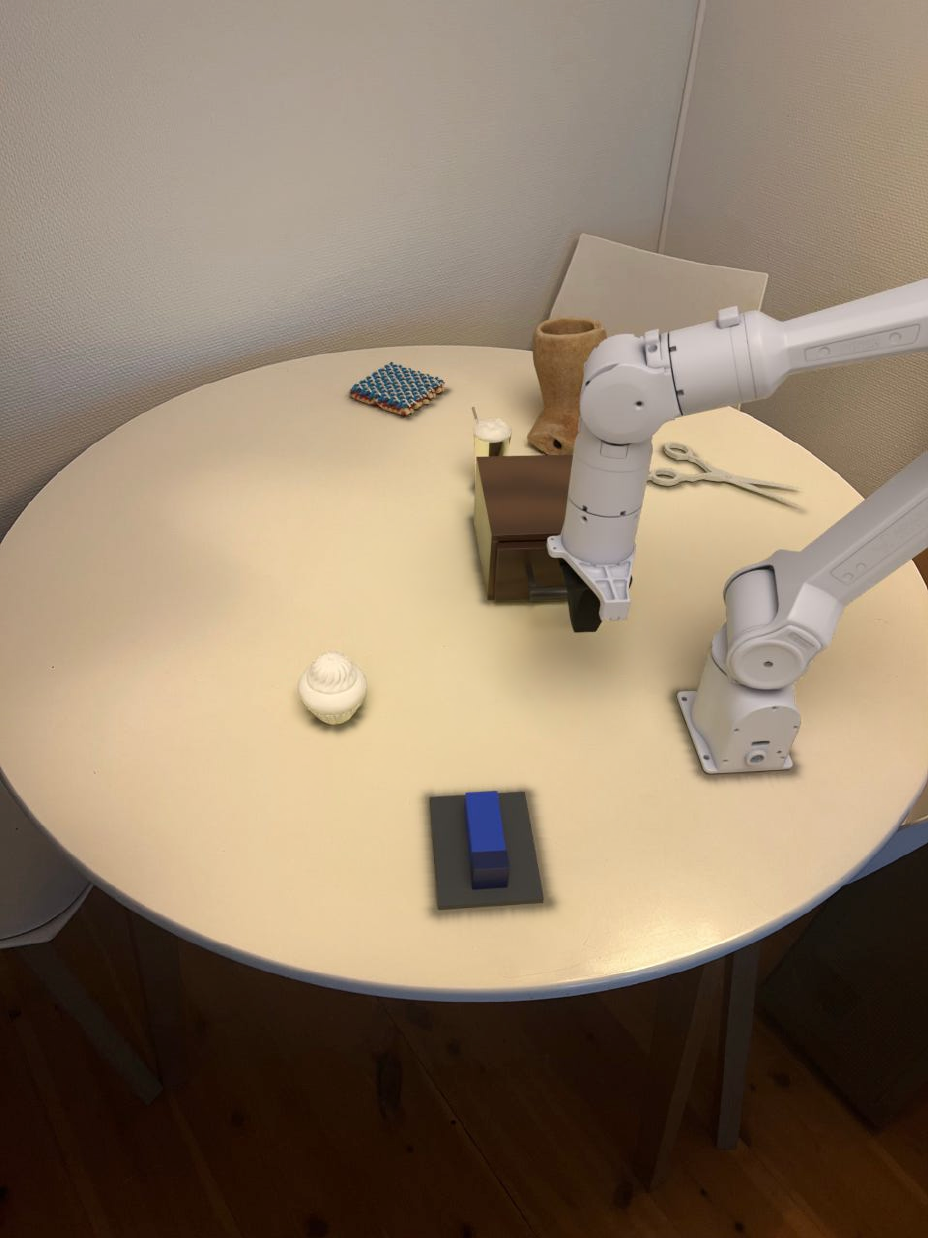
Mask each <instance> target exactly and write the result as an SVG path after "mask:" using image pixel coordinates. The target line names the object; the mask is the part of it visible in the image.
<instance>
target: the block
mask: <svg viewBox="0 0 928 1238" xmlns="http://www.w3.org/2000/svg"><path fill="white" fill-rule="evenodd" d="M498 793H499V792H498V790H488V791H471V792H470V791H469V792H465V793H464V795H465V808H464V814H465V823H466V831H467V840H468V849H469V858H470V867H471V870H470V873H471V882H472V889H473V890H476V889H491V888H506V887H507V886H508V877H509V869H510V867H509V860H508V854H507V850H506V846H505V839H504V833H503V826H502V819H501V813H500V806H499V799H498Z"/></svg>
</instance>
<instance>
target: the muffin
mask: <svg viewBox="0 0 928 1238" xmlns="http://www.w3.org/2000/svg"><path fill="white" fill-rule="evenodd" d="M311 663H312V664H310V665H309V666H308V667H306V668H305V669H304V670H303V672H302V673H301V674H300V676H299V678H298V681H297V692H298V695H299V698H300V700H301V701H302V703H303V704H304V705H305V706H306V709H307V710H308V711H310V712H311V713H312V714H313V715H314V716H315V717H316V718H318V719H319V720H320V721H321V722H323V723H324V724H327V725H331V726H332V725H333V726H335V725H341V724H344V723H346V722H348V721H349V720H350V719H351V718H352V717H353V716H354V715H355V713H356V711H357V710H358V709H359V708H360V706H361V705H362V703H363V701H364V699H365V697H366V694H367V691H368V688H369V687H368V686H369V684H368V679H367V675H366V674H365V672H364V671H363V669H362V668H361V667H360V666H359V665H357V664H356V663H354V662H352V661H351V659H350V658H349V657H348V656H347V655H345V654H344V653H342V652H339V651H337V650H336V651H331V650H329V651H328V652H322V653H321V655H317V656H316V658H315V659H313V660H312V662H311Z"/></svg>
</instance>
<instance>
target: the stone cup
mask: <svg viewBox="0 0 928 1238" xmlns="http://www.w3.org/2000/svg"><path fill="white" fill-rule="evenodd" d="M607 338H608V335H607V331H606V328H605V326H604V324H603V323H602V322H600V321H599V320H597V319H594V318H590V317H579V316H563V317H555V318H550V319H547V320H544V321H542V322H540V323H539V324H538V325H537V326H536V327H535V329H534V331H533V335H532V361H533V367H534V369H535V373H536V377H537V381H538V384H539V390H540V393H541V398H542V403H543V408H542V409H543V410H542V411H541V412H540V413H539V415H538V416H537V417H536V420H535V422H534V423H533V425H532V427H531V429H530V431H528V433H527V435H526V439H527V440H528V442H529V443H530V444H531V445H534V446H535V448H537V449H538V450H540V451H541V452H543V453H545V455H573V452H574V445H575V439H576V437H577V435H578V433H579V431H578V425H579V418H580V416H581V414H580V394H581V388H582V383H583V378H584V363H585V362H587V359H588V357H589V355H590V354H591V352H592V351H593V349H594V348H595V347H596V348H597V347H598V346H599V343H600V342H602V341H603V340H605V339H607Z"/></svg>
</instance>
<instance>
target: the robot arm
mask: <svg viewBox="0 0 928 1238" xmlns="http://www.w3.org/2000/svg"><path fill="white" fill-rule="evenodd" d="M739 311H740V310H739V307H738V306H737V305H734V306H729V307H725V308H722V309H718V311H717V319H714V320H710V321H705V322H702V323H698V324H695V325H690V326H687V327H683V328H679V329H674V330H670V331H666V332H662V333H661V332H660V329H659V328H655V329H651V330H646V332H644V334H643V336H642V335H640V336H639V337H638V336H635V333H619V334H614V335H611V336H609V337H607V339H605V340H603V341H602V342H600V343H599V346H598V347H597V348H596V347H595V348H594V349H593V351H592V352H591V354H590V355H589V357H588V359H587V362H585V363H584V378H583V383H582V388H581V394H580V414H581V416H580V418H579V425H578V431H579V433H578V435H577V437H576V439H575V445H574V452H573V460H572V468H571V475H570V483H569V490H568V498H567V506H566V513H565V521H564V525H563V528H562V532H561V534H560V535H559V536H550V537H548V539H547V549H548V553H549V555H550V556H551V557H554V558H558V562H559V566H560V568H561V573H562V577H563V580H564V583H565V586H566V588H567V594H568V600H567V605H568V606H567V607H568V615H569V620H570V624H571V628H572V631H573V633H575V634H576V633H577V634H579V633H596V632H597V631H598V630H599V628H600V626H601V624H602V623H603V621H604V622H605V621H612V622H613V621H615V622H616V621H627V620H628V617H629V611H630V608H631V602H632V600H631V595H630V591H629V590H630V588H631V586H632V584H633V581H634V580H633V575H632V571H633V566H634V562H635V557H636V551H637V543H636V538H637V533H638V529H639V528H638V527H639V523H640V518H641V513H642V509H643V503H644V498H645V493H646V489H647V483H648V480H647V479H648V474H650V468H651V464H652V463H651V462H652V458H653V454H654V446H653V436H654V435H655V434H656V433H657V432H658V431H659V430H660V429H661V428H662V426H663V425H664V424H666V423H669V422H672V421H675V420H676V419H678V418H683V417H687V416H693V415H696V414H700V413H705V412H709V411H713V410H714V411H715V410H718V409H719V410H720V409H723V408H728V407H733V406H737V405H741V404H747V403H751V402H756V401H759V400H763V399H764V400H765V399H768V398H770V397H772V395H773V394H774V393H775V392H776V391H777V390H778V389H779V388H780V386H781V385H782V384H783V383H784V382H785V380H786V379H787V378H788V377H790V376H791V375H797V374H802V373H808V372H814V371H821V370H826V369H832V368H839V367H844V366H845V367H846V366H850V365H857V364H862V363H868V362H874V361H880V360H885V359H891V358H897V357H903V356H910V355H914V354H915V355H916V354H927V355H928V277H926V278H923V279H920V280H917V281H914V282H910V283H907V284H904V285H900V286H897V287H894V288H890V289H887V290H884V291H880V292H877V293H873V294H871V295H867V296H863V297H860V298H857V299H853V300H851V301H847V302H844V303H840V304H838V305H834V306H831V307H828V308H824V309H820V310H817V311H813V312H811V313H807V314H804V315H800V316H798V317H794V318H791V319H788V320H785V321H784V320H783V321H781V320H777V319H776V318H774V317H771V316H769V315H768V314H766V313H764V312H762V311H761V310H758V309H754V310H749V311H745V312H741V313H740V312H739ZM926 549H928V448H927V449H926V450H925V451H923V452H921V454H920V455H918V456H917V457H916V458H914V459H913V460H912V461H911V462H910V463H908V464H907V465H906V466H905V467H904V468H902V469H901V470H900V471H898V472H896V474H894V475H893V476H892V477H891V478H890V479H888V480H887V481H885V483H883V484H882V485H881V486H880V487H878V488H877V489H876V490H875V491H873V492H872V493H871V494H870V495H869V496H867V497H866V498H865V499H864V500H863V501H861V502H859V503H858V505H856V506H855V507H853V509H851V510H850V511H848V512H847V513H846V514H845V515H844V516H842V517H841V518H840V519H839V520H837V521H836V522H835V523H834V524H832V525H831V526H830V527H829V528H827V529H826V530H825V531H824V532H822V533H821V534H820V535H819V536H818V537H816V538H815V539H814V540H812V541H811V542H810V543H809V544H808V545H806V546H805V547H804V548H802V549H801V550H800V551H796V550H789V549H776V551H775V552H773V553H772V554H771V555H769V556H768V557H767V558H764V559H763V560H761V561H759V562H755V563H752V564H749V565H746V566H744V567H741V568H739V569H737V570H736V571H734V572H733V573H732V574H731V575H730V576H729V577H728V579H726V581H725V583H724V586H723V590H722V599H723V602H724V606H725V622H723V625H722V626H721V627H720V628H719V630H717V632H716V633H715V634H714V636H713V637H712V641H711V643H710V648H709V651H708V654H707V657H706V658H707V659H706V661H705V663H704V668H703V671H702V674H701V678H700V681H699V684H698V688H697V690H685V691H683V690H682V691H678V692H677V694H676V698H677V701H678V704H679V707H680V710H681V712H682V715H683V718H684V720H685V721H684V722H685V723H686V726H687V729H688V731H689V734H690V738H691V740H692V742H693V746H694V748H695V750H696V752H697V756H698V758H699V761H700V764H701V766H702V769H703V771H704V772H705V773H707V774H727V773H729V774H730V773H744V772H745V773H746V772H747V773H748V772H763V771H764V772H765V771H782V770H784V771H785V770H791V769H792V768H793V765H794V763H793V759H792V758H791V756H790V754H789V753H790V751H791V749H792V747H793V743H794V742H795V739H796V737H797V734H798V733H799V731H800V728H801V725H802V717H801V716H802V715H801V712H800V710H799V708H798V704H797V702H796V696H795V691H794V690H795V689H794V688H795V683H796V682H797V681H798V682H799V680H800V679H801V678H803V677H804V676H805V674H806V673H807V672H808V670H809V668H810V665H811V663H812V662H813V661H814V659H815V658H816V657H817V656H819V654H821V653H822V652H824V651H825V650H826V649H828V648H829V647H830V645H831V643H832V641H833V638H834V636H835V633H836V631H837V628H838V625H839V623H840V620H841V617H842V614H843V612H844V610H845V609H846V607H847V606H849V605H850V604H851V603H853V602H854V601H856V600H857V599H859V597H861V596H862V595H863V594H866V592H868V591H869V590H871V589H872V588H874V587H875V586H876V585H878V584H879V583H881V582H882V581H883V580H885V579H886V578H887V577H889V576H890V575H891V574H893V573H894V572H896V571H897V570H898V569H900V568H901V567H903V566H904V565H906V564H907V563H908V562H910V561H911V560H912V559H914V558H915V557H917V556H918V555H919V554H921V553H922V552H924V551H925V550H926Z"/></svg>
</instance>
